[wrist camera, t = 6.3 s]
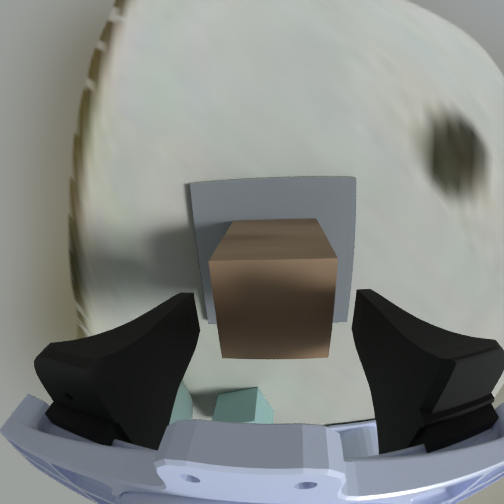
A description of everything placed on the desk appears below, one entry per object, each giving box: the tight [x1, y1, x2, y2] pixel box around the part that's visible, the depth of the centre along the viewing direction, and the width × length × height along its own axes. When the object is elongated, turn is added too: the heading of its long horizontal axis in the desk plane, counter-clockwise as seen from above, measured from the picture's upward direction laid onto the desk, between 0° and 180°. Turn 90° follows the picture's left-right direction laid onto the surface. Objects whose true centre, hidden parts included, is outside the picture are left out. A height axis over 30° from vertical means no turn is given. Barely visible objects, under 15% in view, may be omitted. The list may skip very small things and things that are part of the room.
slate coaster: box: [190, 176, 356, 324], centre depth 18 cm, size 10×10×1 cm
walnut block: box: [209, 218, 338, 359], centre depth 14 cm, size 5×5×6 cm
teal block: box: [212, 387, 274, 424], centre depth 22 cm, size 4×4×4 cm
